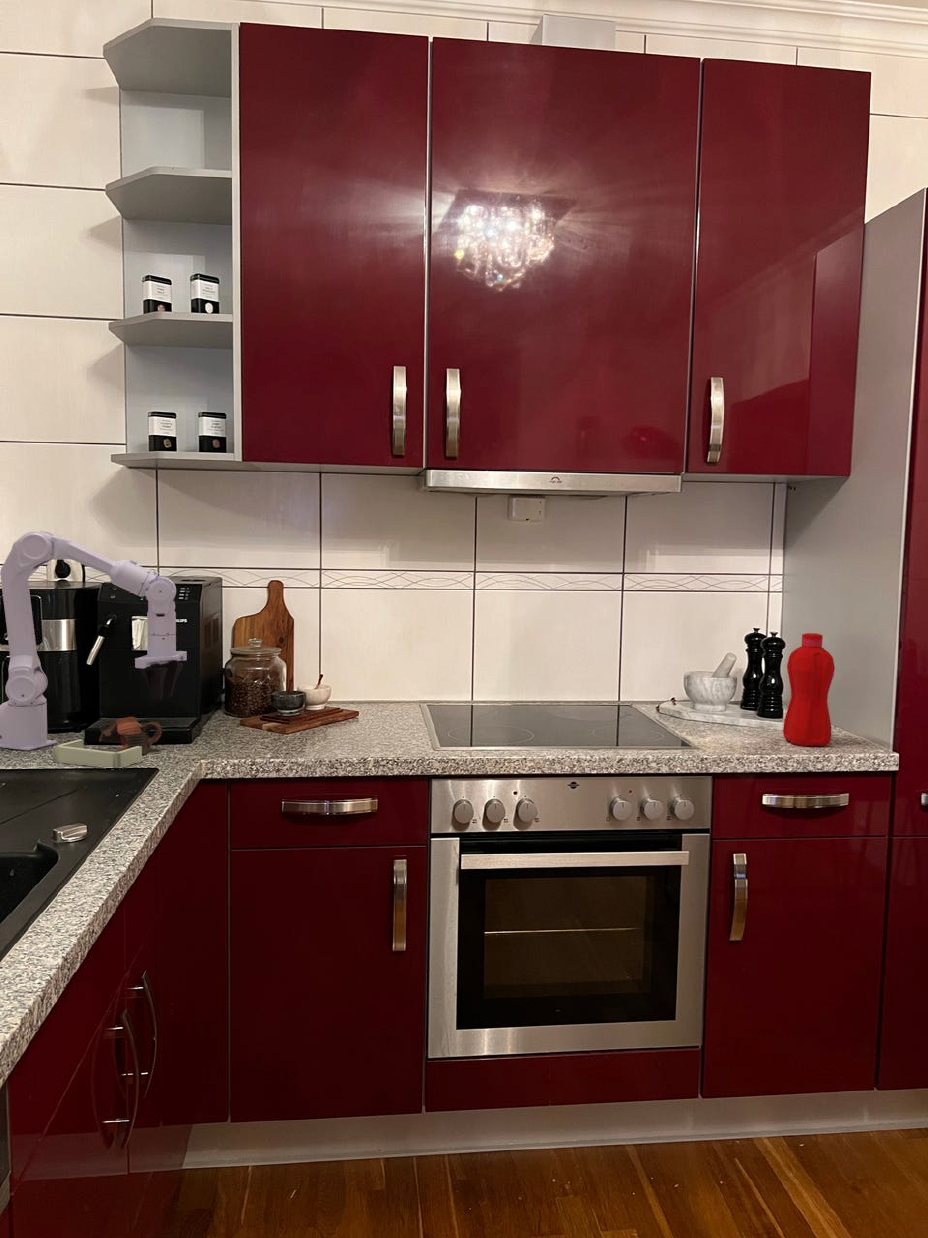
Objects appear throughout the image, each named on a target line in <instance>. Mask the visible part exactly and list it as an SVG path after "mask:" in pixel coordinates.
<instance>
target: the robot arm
mask: <svg viewBox="0 0 928 1238" xmlns="http://www.w3.org/2000/svg"><path fill="white" fill-rule="evenodd" d="M52 560H58V561H59V560H71V561H74V562H77V563H79V564H81V565H84V566H85V567H88V568H90V569H93V570H96V571H98V572H100V573H102V574H105V575H107V576H108V577H109V579H110V582H111V583H112V584H113V585H114V586H116V587H118V588H120V589H123V590H125V591H127V592H130V593H132V594H134V595H137V596H139V597H142V598H143V597H145V598H146V599H147V601H148V602H147V605H148V606H147V607H148V609H147V610H148V611H147V613H146V615H147V618H146V620H147V622H146V624H147V625H146V627H147V628H146V629H147V635H146V636H147V639H146V641H147V654H146V655H143V656H140V657H136V658H134V664H135V665H134V668H136V669H139V671H140V672H141V673H142V675H143V677H144V678H145V681H146V684H147V687H148V689H149V693H150V696H151V699H152V700H158V701H159V700H160V701H162V700H163V697H164V698H172V697H173V695H174V690H175V686H176V683H177V680H178V676H179V675H180V673H181V671H182V670H183V668H184V664H183V663H184V662H183V663H182V661H187V660H188V659H187V658H188V657H187V655H188V654H187V651H186V650H185V651H184V650H183V651H182V650H177V645H176V643H177V636H176V635H177V634H176V633H177V623H176V622H177V620H176V617H177V613H176V611H175V610H176V603H175V600H174V599H175V597H176V594H177V588H176V584H175V583H174V581H173V580H171V579H170V578H169V577H167V575H159V573H160V572H158V571H156V570H153V571H152V570H149V569H147V568H146V567H143V566H141V565H138V564H137V563H138V561H137V560H135V559H133V558H131V559H130V560H128V559H121V560H118V561H115V560H113V559H111V558H109V557H106V556H105V555H102V554H101V553H99V552H97V551H95V550H92V549H91V548H89V547H87V546H85V545H82V544H81V543H78V542H77V541H75V540H72V539H69V538H66V537H63V536H60V535H54V534H53V533H51V532H50V531H43V530H41V531H38V530H37V531H35V530H34V531H29V532H25V533H24V534H23V535H22V536H20V537H19V538H18V539H17V540H16V541H14V542H13V544H12V547H11V549H10V552H9V554H8V555H7V557H6V559H5V560H4V563H3V564H2V566H1V569H0V582H1V583H0V584H1V591H2V601H3V606H4V607H3V608H4V614H5V623H6V624H5V626H6V633H7V639H8V640H7V641H8V647H9V648H8V649H9V657H10V659H9V665H8V679H7V681H6V684H5V690H4V691H5V694H6V696H7V698H8V700H7V701H4V702H3V703H1V704H0V748H2V749H3V748H4V749H12V750H13V749H14V750H21V751H32V750H36V749H40V748H43V747H47V746H50V745H54V744H58V741H57V740H53V739H48V715H47V714H48V709H47V707H48V706H47V705H48V703H47V698H46V697H45V696H44V694H43V693H45V691H46V690H47V688H48V677H47V675H46V674H45V672H44V671H43V669H42V665H41V661H40V660H41V659H40V658H39V655H38V652H37V641H36V635H35V628H34V619H33V618H34V617H33V611H32V609H33V608H32V602H31V601H32V600H31V595H30V594H31V593H30V585H29V578H30V577H31V576H32V575H33V574H34V573H35V572H36V571H37V570H38V569H39V568H40V567H42V566H43V565H45V564H47V563H50V562H51V561H52ZM180 661H181V662H180Z"/></svg>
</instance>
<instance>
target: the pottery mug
mask: <svg viewBox="0 0 928 1238" xmlns="http://www.w3.org/2000/svg"><path fill="white" fill-rule="evenodd" d="M153 729H154V733H153V735H152V736H151V737H150V736H149V734H150V732H151V730H153ZM100 733H101V734H100V736H99V741H98V742H99V743H101V742H104V743H116V744H121V746H120V747H118V748H117V752H120V751H123V750H126V749H130V748H133V747H136V746H142V755H147V754H148V749H149V750H150V749H151V747H152V745H153V744H154V743H156V742H158V741H159V739H160V738H161V736H162V733H163V728H162V727H161V724H159V722H156V721H149V722H146V723H140V722H138V718H137V717H135V716H128V717H122V718H119V719H114V720H112V721H110V722H109V721H108V722H107V723H105V724H104V725H102V726H101V727H100ZM146 753H147V754H146Z"/></svg>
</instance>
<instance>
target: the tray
mask: <svg viewBox="0 0 928 1238" xmlns="http://www.w3.org/2000/svg"><path fill="white" fill-rule="evenodd" d="M52 756H53V757H52V758H53V761H52V762H54V763H58V764H59V763H60V764H61V763H62V764H66V763H68V765H74V764H78V765H77V766H82V765H94V766H101V767H113V768H119V767H125V766H128V767H130V766H129V765H131V764H134V763H137V764H139V763H138V762H140V763H141V761H142V762H143V754H142V746H136V747H133V748H130V749H126V750H123V751H120V752H118V751H117V752H115V751H106V750H100V749H99V750H98V749H89V748H84V739H80V738H79V739H77V740H75V739H74V740H72V741H69V742H64V743H62V744H58V745H54V746H52ZM134 765H135V764H134ZM131 766H132V765H131ZM125 768H126V767H125Z"/></svg>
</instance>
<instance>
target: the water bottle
mask: <svg viewBox="0 0 928 1238" xmlns="http://www.w3.org/2000/svg"><path fill="white" fill-rule="evenodd" d="M787 659H788V660H787V665H786V670H787V674H788V680H789V687H790V699H789V703H788V706H787V711H786V713H785V717H784V721H783V727H782V728H783V729H782V733H783V734H782V735H783V738H784V739H785V740H786V741H787V740H788V741H787V742H789V741H790V743H791V744H793V745H796V746H799V747H800V746H801V747H826V746H828V745H829V744H830V742H831V739H832V721H831V716H830V709H829V704H828V697H829V691H830V688H831V685H832V681H833V679H834V675H835V669H836V667H835V662H834V661H835V660H834V657H833V656H832V655H831V653H830V652H829V651H828V650H826V649H825V648H823V634H820V633H818V632H816V633H815V632H809V633H808V632H806V633H803V634H801V646H799V647H797V648H795V649H794V650H792V651H791V653H790V654H789V656H788V658H787Z"/></svg>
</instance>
